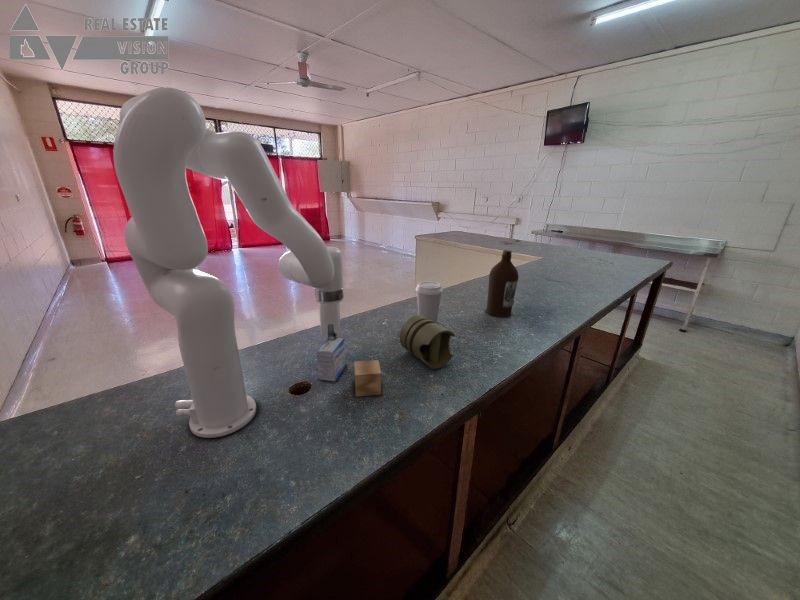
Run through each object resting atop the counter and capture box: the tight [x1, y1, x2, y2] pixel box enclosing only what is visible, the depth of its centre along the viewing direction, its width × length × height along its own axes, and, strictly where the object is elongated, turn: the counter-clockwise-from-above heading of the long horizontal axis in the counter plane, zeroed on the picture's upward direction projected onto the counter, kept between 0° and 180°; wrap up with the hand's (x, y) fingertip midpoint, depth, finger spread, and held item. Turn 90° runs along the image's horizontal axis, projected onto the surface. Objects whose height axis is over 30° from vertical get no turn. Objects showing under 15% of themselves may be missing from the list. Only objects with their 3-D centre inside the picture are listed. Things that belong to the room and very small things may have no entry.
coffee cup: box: [415, 280, 444, 324], centre depth 112 cm, size 10×10×15 cm
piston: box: [399, 314, 456, 370], centre depth 90 cm, size 11×12×11 cm
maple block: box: [353, 359, 382, 397], centre depth 77 cm, size 6×6×6 cm
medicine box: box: [316, 337, 347, 382], centre depth 82 cm, size 8×4×9 cm, turn 169°
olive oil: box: [485, 249, 519, 318], centre depth 122 cm, size 11×11×25 cm
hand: (333, 353), depth 91 cm, fingers closed
